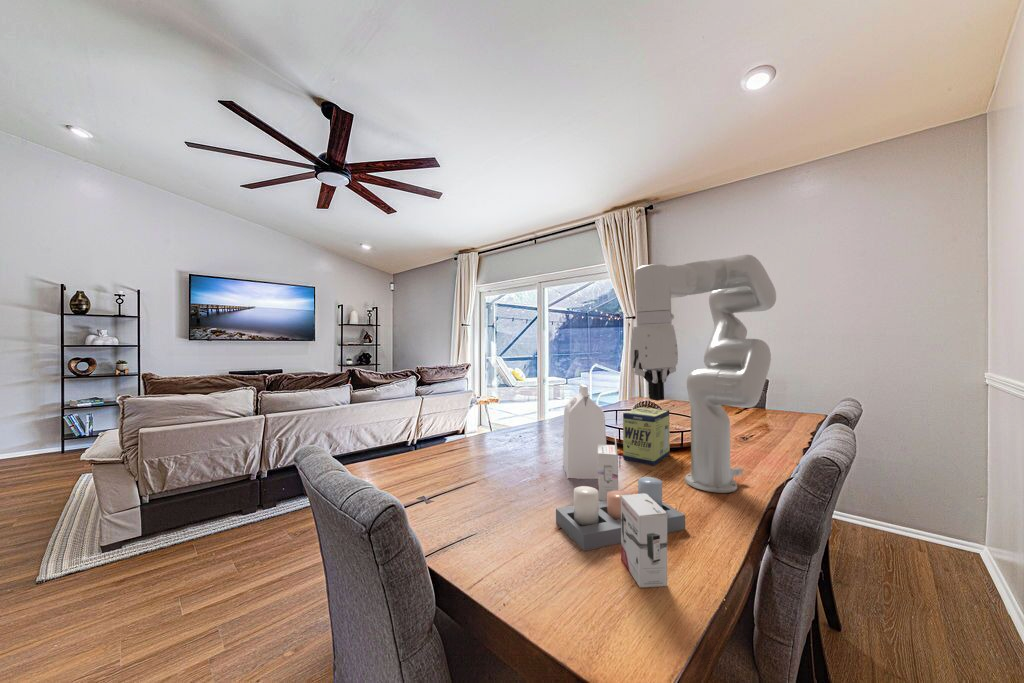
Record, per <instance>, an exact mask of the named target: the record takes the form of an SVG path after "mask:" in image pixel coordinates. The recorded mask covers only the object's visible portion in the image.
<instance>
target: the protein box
mask: <svg viewBox="0 0 1024 683" xmlns="http://www.w3.org/2000/svg"><path fill="white" fill-rule="evenodd" d="M622 414H623V415H622V425H623V426H622V432H623V433H622V434H623V438H622V439H623V440H622V442H623V443H622V444H623V445H622V447H623V448H622V450H623V451H622V452H623V457H622V459H623V460H625V461H629V462H634V463H639V464H643V465H649V466H656V465H657V464H659V463H660V462H661V461H663V460H664V459H667V457H669V456H670V451H671V450H670V438H671V437H670V410H669V409H661V408H653V407H652V408H651V407H643V406H640V407H637V408H634V409H632V410H629V411H626V412H623V413H622Z"/></svg>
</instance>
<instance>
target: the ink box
mask: <svg viewBox="0 0 1024 683" xmlns="http://www.w3.org/2000/svg"><path fill="white" fill-rule="evenodd" d="M629 494H630V493H629ZM620 559H621V560H622V562H623V564H624V565H625V566H626V568H627V570H628V571H629V573H630V574H631V576H632V577H633V579H634V581H635V582H636V584H637V586H638V587H639V588H656V587H667V586H668V533H667V514H666V511H665V510H663V508H661V507H660V506H659V505H658V504H657V503H656V502H655V501H654V500H653V499H652V498H651V497H649V495H648V494H644V493H642V494H638V493H632V494H630V495H621V543H620Z"/></svg>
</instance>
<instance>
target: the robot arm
mask: <svg viewBox="0 0 1024 683" xmlns="http://www.w3.org/2000/svg"><path fill="white" fill-rule="evenodd" d="M634 290H635V291H634V293H635V316H636V317H635V318H636V320H635V322H636V326H633V328H632V332H631V339H630V367H631V369H632V368H633V369H634V375H635V376H640V377H643V379H645V382H646V383H648V384H647V387H648V399H650V400H653V401H658V402H659V401H664V400H665V384H664V383H666V382H667V378H668V377H669V375H671V374H673V373H676V372H677V367H676V366H677V365H678V360H679V352H678V343H677V342H678V341H677V335H676V334H677V333H676V331H675V327H674V324H672V320H674V318H675V315H674V314H673V313H672V299H674V298H675V299H676V298H682V297H686V296H691V295H693V296H695V295H701V294H705V293H709V292H710V293H709V297H708V303H709V308H710V313H711V316H712V321H713V324H714V325H713V326H714V329H713V331H712V334H711V337H710V338H709V342H708V345H707V347H706V349H705V352H704V356H703V362H704V366H705V368H704V367H703V368H697V369H695V370H692V371H691V372H690V373H689V375H687V379H686V391H687V396H688V400H689V408H690V462H691V463H690V464H691V465H690V468H691V470H690V473H687V474H686V475H685V477H684V481H685V483H686V484H687V485H689V486H691V487H692V488H695V489H697V490H701V491H704V492H709V493H716V494H717V493H718V494H726V493H727V494H728V493H732V492H733V493H734V492H736V491H737V490H738V483H737V481H735V480H734V478H735V476H742V475H743V474H744V472H743V471H744V470H743V469H742V467H735V468H734V467H731V421H730V418H729V417H730V416H728V413H727V412H726V409H724V408H723V406H728V407H734V408H744V409H745V408H747V409H748V408H753V407H755V406H756V405H757V404H758V402H759V401H760V399H761V395H762V394H763V390H764V386H765V384H766V380H767V376H768V373H769V372H770V371H769V370H770V367H771V362H772V361H771V360H772V358H771V357H772V354H771V349H770V346H769V345H768V344H767V342H766V341H764V340H763V339H759V338H747V335H748V330H747V327H746V326H745V324H744V322H742V321H741V320H740V319H739V318H738V317H737V316H736V315H735V314H738V313H754V312H755V313H756V312H765V311H768V310H771V309H772V308H773V307H774V306H775V304H776V301H777V290H776V288H775V286H774V284H773V281H772V279H771V277H770V276H769V274H768V273H767V271H766V269H765V267H764V265H763V264H762V262H761V261H760V260H759V259H758V258H757V257H756V256H754V255H753V254H742V255H736V256H729V257H724V258H716V259H709V260H708V259H707V260H698V261H697V260H696V261H693V262H688V263H683V264H677V265H666V264H664V263H653V264H646V265H641V266H639V267H637V268H636V270H635V272H634Z"/></svg>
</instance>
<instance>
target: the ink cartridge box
mask: <svg viewBox="0 0 1024 683" xmlns="http://www.w3.org/2000/svg"><path fill="white" fill-rule="evenodd" d="M613 437H614V444H606V445H599V444H598V449H597V455H598V479H597V482H598V483H597V484H598V486H597V487H598V501H603V500H607V493H608V492H610V491H619V454H618V453H619V451H618V445H617V438H616V437H617V436H616V434H614V435H613Z"/></svg>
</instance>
